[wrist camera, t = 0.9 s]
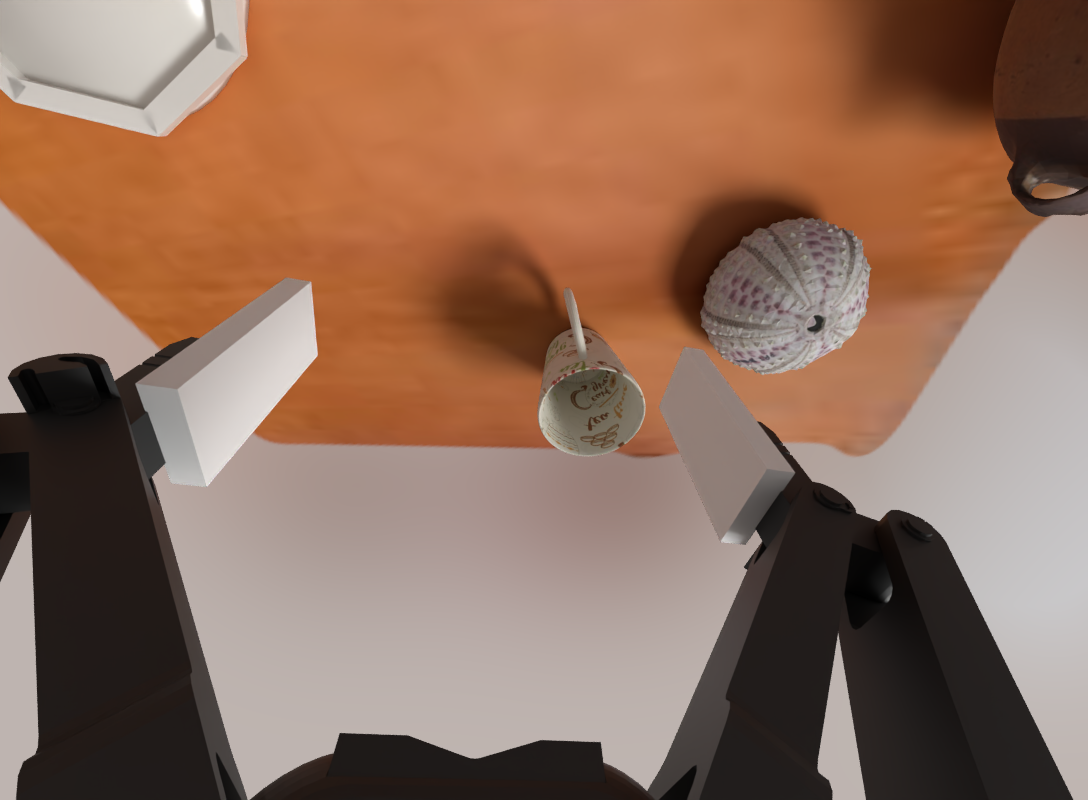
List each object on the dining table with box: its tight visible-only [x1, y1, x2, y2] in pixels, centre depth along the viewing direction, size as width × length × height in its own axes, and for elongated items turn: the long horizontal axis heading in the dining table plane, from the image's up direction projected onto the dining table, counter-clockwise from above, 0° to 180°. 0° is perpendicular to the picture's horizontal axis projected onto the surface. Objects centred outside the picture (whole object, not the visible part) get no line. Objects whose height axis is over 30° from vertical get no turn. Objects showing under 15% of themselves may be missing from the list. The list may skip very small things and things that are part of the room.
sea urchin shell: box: [700, 217, 871, 375], centre depth 36 cm, size 13×14×8 cm
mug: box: [538, 288, 645, 456], centre depth 37 cm, size 8×12×10 cm, turn 14°
